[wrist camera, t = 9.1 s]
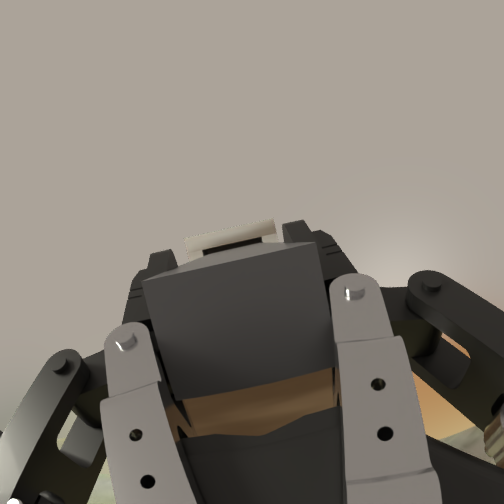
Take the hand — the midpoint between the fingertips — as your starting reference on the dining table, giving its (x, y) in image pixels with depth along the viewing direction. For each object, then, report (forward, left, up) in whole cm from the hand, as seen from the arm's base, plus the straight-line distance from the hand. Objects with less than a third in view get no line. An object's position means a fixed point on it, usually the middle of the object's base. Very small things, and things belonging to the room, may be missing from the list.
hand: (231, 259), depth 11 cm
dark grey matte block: (+4, +3, -3) cm, 6 cm away
